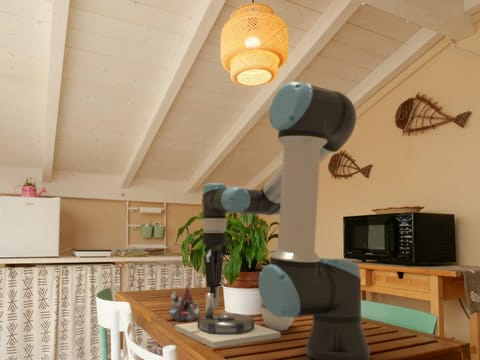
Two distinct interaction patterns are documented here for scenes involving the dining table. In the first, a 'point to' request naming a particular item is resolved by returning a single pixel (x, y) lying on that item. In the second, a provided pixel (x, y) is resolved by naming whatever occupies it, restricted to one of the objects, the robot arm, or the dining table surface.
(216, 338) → the base board
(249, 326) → the notched disc with hub
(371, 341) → the dining table surface
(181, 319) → the grey maroon spiky lump
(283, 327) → the lidded jar
